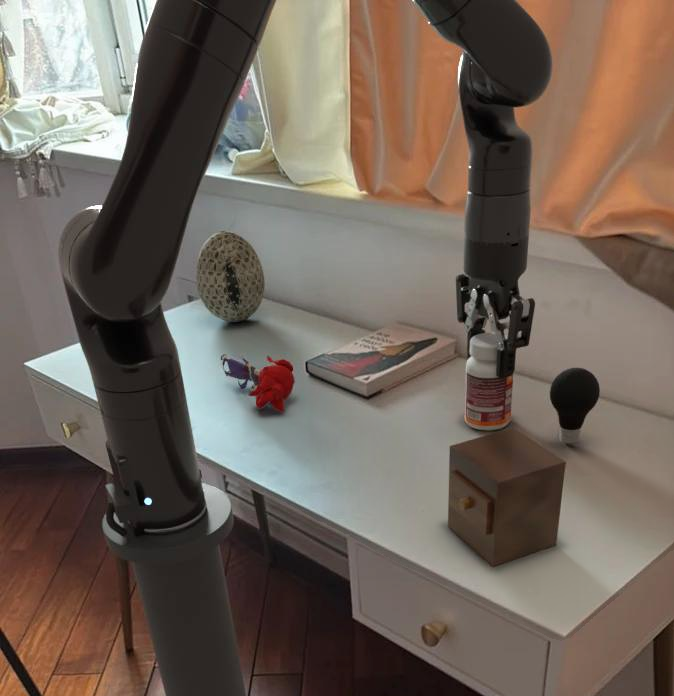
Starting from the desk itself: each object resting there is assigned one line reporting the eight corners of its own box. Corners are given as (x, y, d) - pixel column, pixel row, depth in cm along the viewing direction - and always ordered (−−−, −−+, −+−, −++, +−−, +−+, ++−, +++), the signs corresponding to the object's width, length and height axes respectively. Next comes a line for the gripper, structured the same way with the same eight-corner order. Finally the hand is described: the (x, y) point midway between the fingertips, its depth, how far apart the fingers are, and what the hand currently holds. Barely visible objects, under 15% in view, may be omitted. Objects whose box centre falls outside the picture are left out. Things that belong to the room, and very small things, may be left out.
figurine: (245, 372, 131) (316, 396, 123) (207, 402, 127) (278, 428, 119) (233, 335, 126) (307, 357, 118) (194, 365, 123) (266, 390, 115)
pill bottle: (514, 430, 112) (520, 346, 105) (467, 433, 112) (470, 350, 105) (505, 410, 117) (510, 329, 110) (460, 413, 117) (462, 332, 110)
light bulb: (562, 429, 111) (570, 356, 105) (601, 443, 108) (612, 368, 102) (535, 445, 108) (542, 371, 102) (574, 460, 105) (584, 383, 99)
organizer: (483, 570, 88) (487, 486, 82) (438, 529, 94) (439, 448, 88) (556, 544, 90) (566, 461, 84) (507, 506, 97) (513, 427, 91)
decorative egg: (207, 335, 147) (192, 245, 138) (200, 314, 156) (186, 227, 147) (273, 326, 148) (263, 236, 139) (262, 305, 158) (252, 219, 148)
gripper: (437, 223, 104) (436, 356, 114) (504, 250, 93) (496, 394, 103) (489, 213, 106) (483, 344, 116) (560, 238, 95) (547, 380, 106)
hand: (489, 367), depth 110 cm, fingers closed on pill bottle, 6 cm apart
